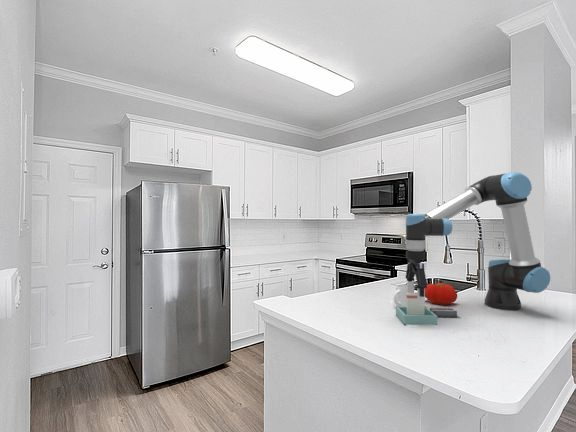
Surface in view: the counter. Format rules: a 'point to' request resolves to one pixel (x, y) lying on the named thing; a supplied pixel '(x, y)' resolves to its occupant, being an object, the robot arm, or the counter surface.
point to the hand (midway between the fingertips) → (415, 300)
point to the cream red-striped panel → (414, 305)
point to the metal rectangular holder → (444, 312)
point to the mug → (401, 295)
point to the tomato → (440, 293)
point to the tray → (416, 317)
